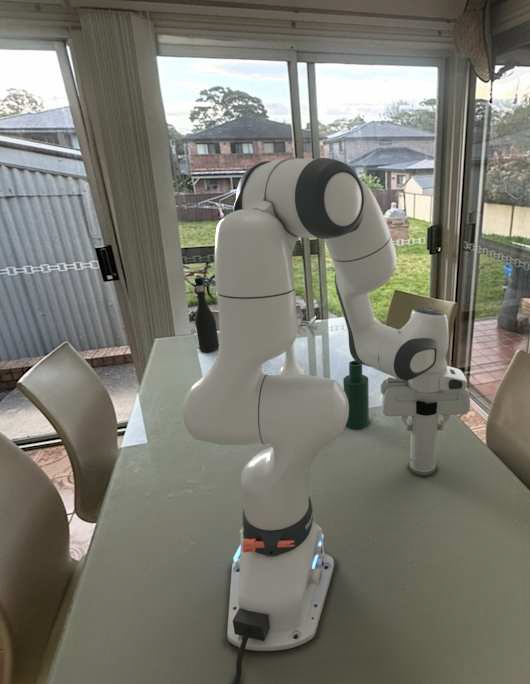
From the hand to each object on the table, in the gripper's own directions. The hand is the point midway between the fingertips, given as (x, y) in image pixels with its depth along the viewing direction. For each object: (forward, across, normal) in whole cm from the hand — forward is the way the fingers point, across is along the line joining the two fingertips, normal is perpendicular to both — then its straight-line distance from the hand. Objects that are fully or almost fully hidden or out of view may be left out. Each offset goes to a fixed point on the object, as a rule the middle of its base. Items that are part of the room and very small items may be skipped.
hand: (424, 429), depth 105 cm
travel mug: (+11, 0, 0) cm, 11 cm away
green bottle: (+11, -16, +22) cm, 29 cm away
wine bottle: (-4, -102, +90) cm, 136 cm away
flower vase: (+12, -38, +50) cm, 64 cm away
